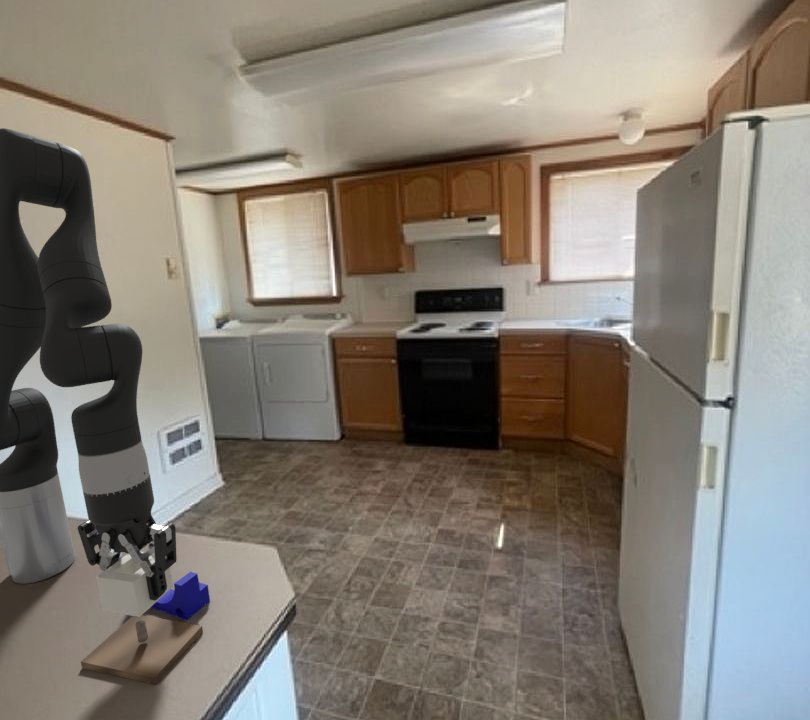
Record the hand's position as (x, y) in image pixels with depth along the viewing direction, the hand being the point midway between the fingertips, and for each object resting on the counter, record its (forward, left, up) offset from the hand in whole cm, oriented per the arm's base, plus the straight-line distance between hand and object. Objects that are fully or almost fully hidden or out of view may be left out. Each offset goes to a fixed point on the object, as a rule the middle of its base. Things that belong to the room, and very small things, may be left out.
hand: (138, 593), depth 64 cm
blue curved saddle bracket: (-4, +9, -9) cm, 13 cm away
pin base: (0, 0, -9) cm, 9 cm away
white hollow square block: (0, 0, -1) cm, 1 cm away
